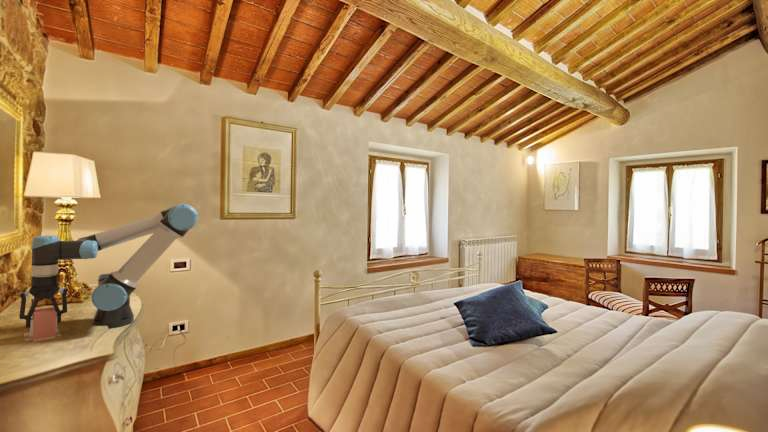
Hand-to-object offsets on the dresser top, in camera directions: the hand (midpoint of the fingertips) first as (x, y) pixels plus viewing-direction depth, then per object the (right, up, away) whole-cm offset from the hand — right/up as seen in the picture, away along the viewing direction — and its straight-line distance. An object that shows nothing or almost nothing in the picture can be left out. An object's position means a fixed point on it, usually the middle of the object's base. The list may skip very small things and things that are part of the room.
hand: (43, 333), depth 136 cm
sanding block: (0, -1, 0) cm, 1 cm away
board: (-2, -3, +2) cm, 4 cm away
